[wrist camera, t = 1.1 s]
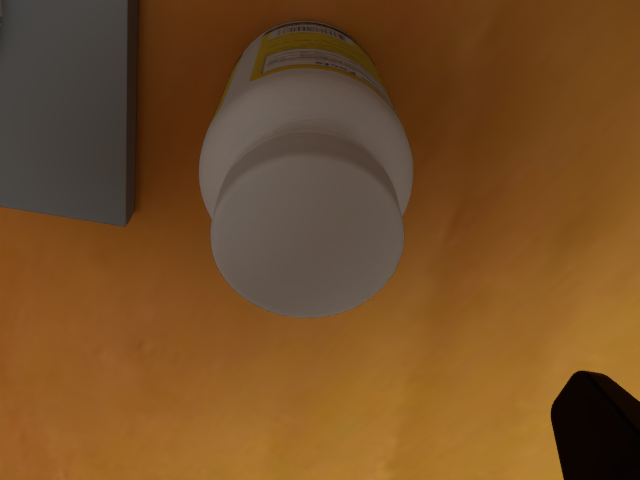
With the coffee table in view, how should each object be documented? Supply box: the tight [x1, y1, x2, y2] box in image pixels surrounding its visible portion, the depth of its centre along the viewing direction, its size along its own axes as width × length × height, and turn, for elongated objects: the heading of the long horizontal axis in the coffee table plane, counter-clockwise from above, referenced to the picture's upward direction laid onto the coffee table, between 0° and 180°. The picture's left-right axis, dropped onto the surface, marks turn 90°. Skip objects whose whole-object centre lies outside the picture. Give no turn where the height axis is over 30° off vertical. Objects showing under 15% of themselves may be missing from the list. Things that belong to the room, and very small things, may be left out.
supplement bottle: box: [199, 21, 413, 318], centre depth 15 cm, size 5×5×10 cm
